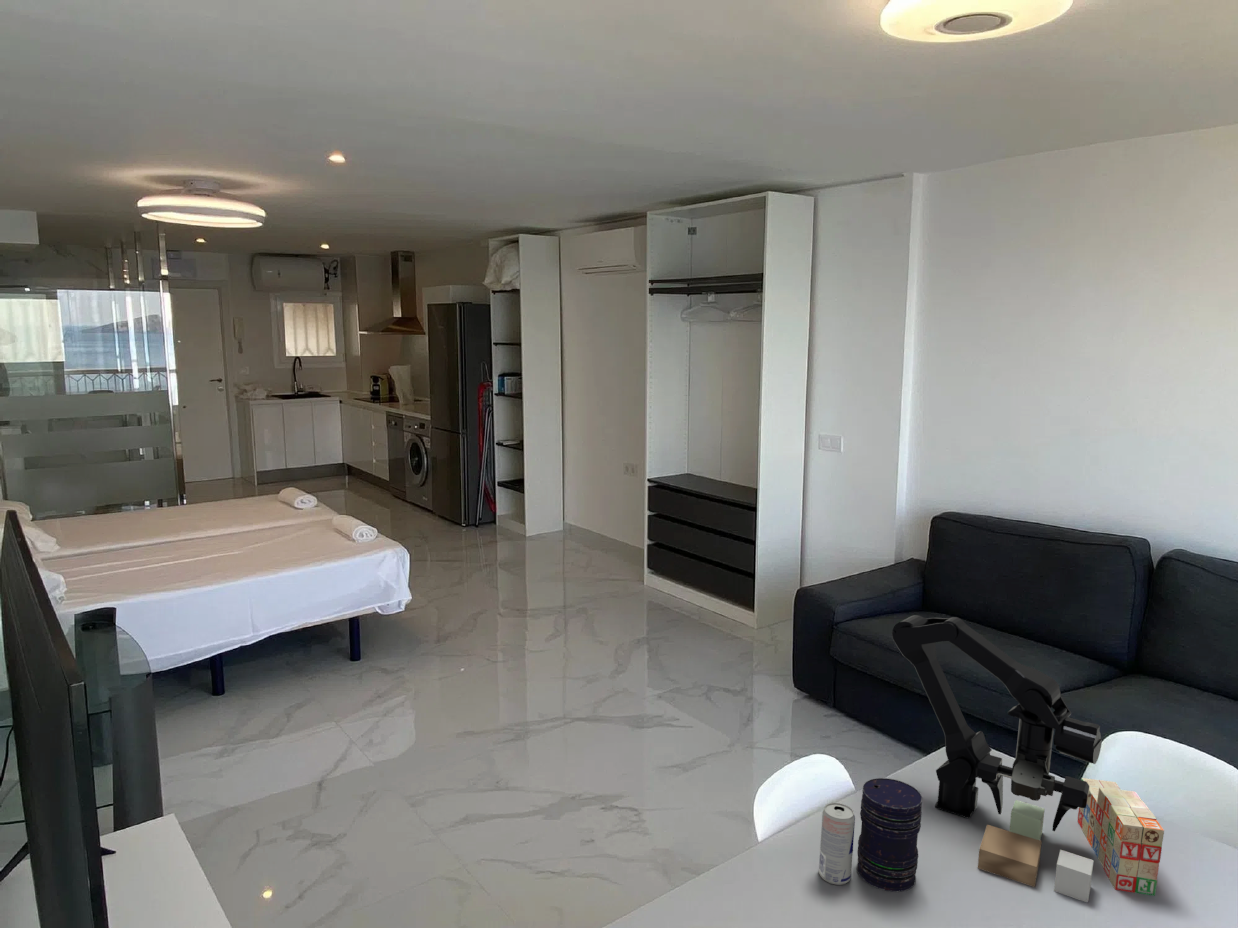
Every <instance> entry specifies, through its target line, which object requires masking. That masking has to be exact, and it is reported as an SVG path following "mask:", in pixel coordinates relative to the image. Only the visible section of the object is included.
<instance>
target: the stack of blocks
mask: <svg viewBox="0 0 1238 928" xmlns="http://www.w3.org/2000/svg"><path fill="white" fill-rule="evenodd" d="M1080 780H1083V781H1086V782H1087V783H1088V785H1089V795H1088V800H1087V805H1086V808H1080V807H1078V813H1077V823H1078V825H1079V826H1080V829H1081V830H1082V832H1083V834H1084V837H1085V838H1086V840H1087V841H1088V844H1089V845H1090V847H1091V849H1092V850H1093V852H1094V854H1095V856H1096V858H1097V859H1098V860H1099V862H1100V864H1101V866H1102V867H1103V871H1104V872H1105V874H1106V876H1107V877H1108V880H1109V881H1110V883H1111V885H1112V887H1113V888H1114V891H1115V890H1116V891H1122V892H1127V893H1128V892H1129V893H1133V894H1135V893H1136V894H1143V895H1148V896H1154V897H1155V896H1156V892H1157V885H1158V874H1159V867H1160V863H1161V859H1162V858H1161V857H1162V850H1163V849H1162V848H1163V840H1164V837H1165V836H1164V834H1165V829H1164V828H1163V826H1162V825H1161V824H1160V822H1159V821H1158V820H1157V817H1156V816H1155V814H1154V813H1153V812H1152V811H1151V810H1150V808H1149V807H1148V806H1147V804H1146V803H1145V802H1144V801H1143V800H1142V799H1141V797H1140V796H1139V794H1138V793H1137V792H1136V791H1135V790H1134V791H1133V790H1127V789H1126V790H1125V789H1124V790H1123V789H1121V787H1120V786H1119V785H1118V783H1117V782H1116V781H1110V780H1109V781H1108V780H1102V779H1093V778H1084V777H1080Z"/></svg>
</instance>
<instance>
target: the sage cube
mask: <svg viewBox="0 0 1238 928" xmlns="http://www.w3.org/2000/svg"><path fill="white" fill-rule="evenodd" d="M1044 817H1045V808H1044V807H1041V806H1038V805H1035V804H1031V803H1027V802H1025V801H1024V802H1023V801H1021V800H1017V799H1015V800H1014V804H1013V806H1012V809H1011V811H1010V822H1009V830H1008V831H1010V832H1013V833H1017V834H1020V835H1023V836H1027V837H1030V838H1033V839H1037V840H1040V841H1041V837H1042V836H1043V835H1042V834H1043V826H1044V819H1045V818H1044Z"/></svg>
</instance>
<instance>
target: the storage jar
mask: <svg viewBox="0 0 1238 928" xmlns="http://www.w3.org/2000/svg"><path fill="white" fill-rule="evenodd" d="M922 804H923V796H922V794H921V792H920V791H919V790H918V789H916V788H915V787H914V786H912V785H910V784H909V783H906V782H903V781H901V780H897V779H894V778H887V777H884V778H883V777H878V778H872V779H869V780H867V781H865V782H864V784H863V785H862V795H861V800H860V813H859V815H860V816H859V817H860V820H861V826H860V827H861V828H860V835H859V837H858V841H857V844H858V845H857V855H856V856H857V865H856V870H857V873H858V875H859V876H860V878H861V879H862V880H863V881H864V882H866V883H867V884H869V885H871V886H872V887H874V888H876V889H878V890H881V891H886V892H893V893H895V892H898V893H899V892H904V891H906V892H907V891H908V890H910V889H912V888H913V887H914V886H915V885H916V879H917V878H916V877H917V876H916V873H917V869H918V862H919V861H918V858H919V849H918V847H917V845H918V835H919V833H920V830H921V828H922V827H921V825H922V823H921V822H922Z"/></svg>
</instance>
